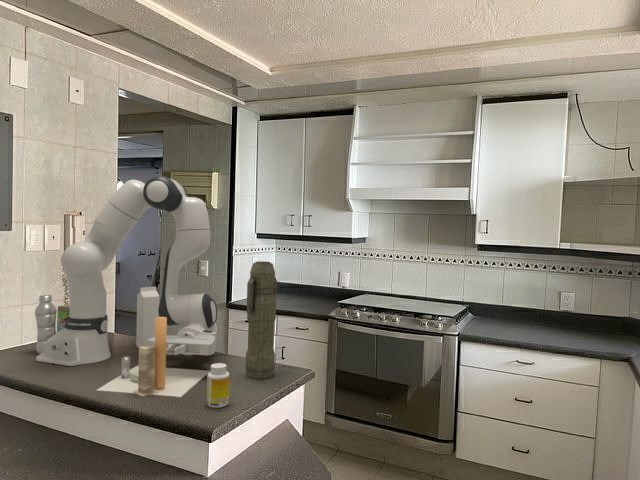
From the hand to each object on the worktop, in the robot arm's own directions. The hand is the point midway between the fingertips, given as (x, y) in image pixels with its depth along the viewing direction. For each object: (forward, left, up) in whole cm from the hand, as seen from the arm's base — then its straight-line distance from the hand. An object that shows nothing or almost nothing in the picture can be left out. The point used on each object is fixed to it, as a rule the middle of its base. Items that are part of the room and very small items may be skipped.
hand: (171, 351), depth 138 cm
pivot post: (-14, +1, -9) cm, 17 cm away
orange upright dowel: (-5, -3, -8) cm, 10 cm away
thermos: (+23, +12, -9) cm, 28 cm away
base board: (-5, +1, -9) cm, 10 cm away
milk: (-25, +35, -9) cm, 44 cm away
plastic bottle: (-53, +19, -10) cm, 57 cm away
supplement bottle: (+18, -13, -9) cm, 24 cm away
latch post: (-3, -9, -9) cm, 13 cm away
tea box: (-51, +35, -9) cm, 62 cm away
